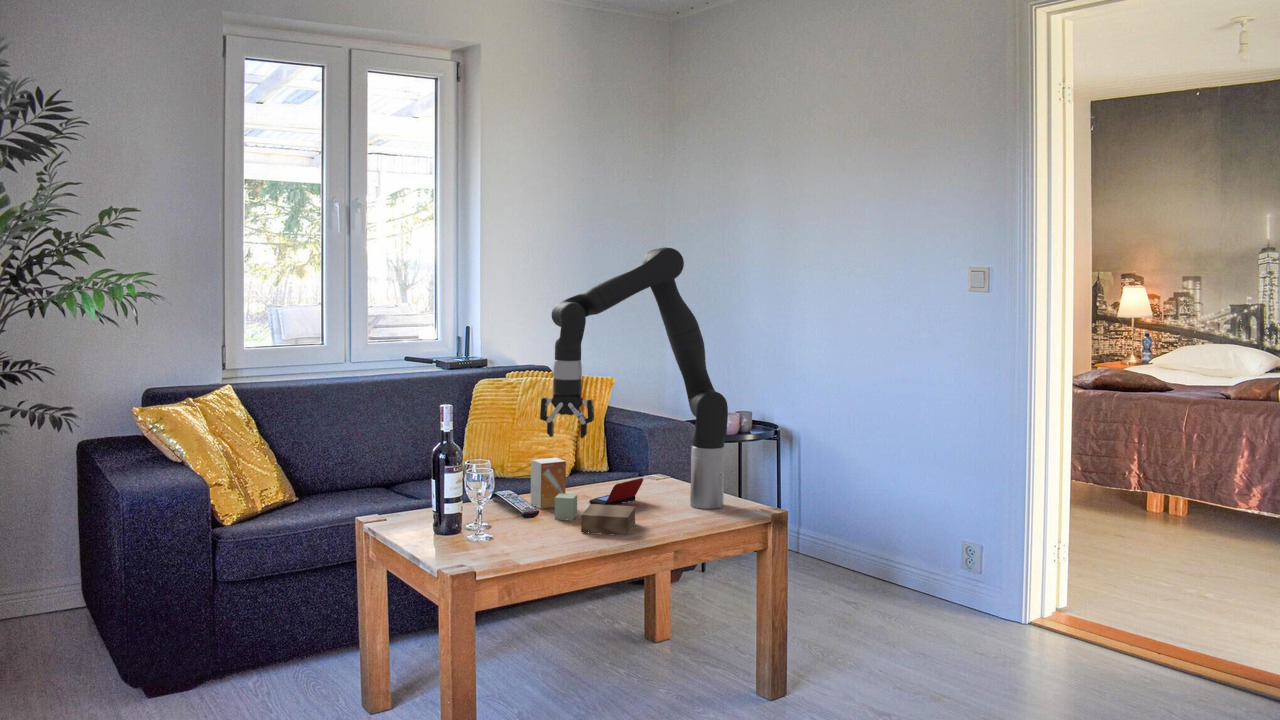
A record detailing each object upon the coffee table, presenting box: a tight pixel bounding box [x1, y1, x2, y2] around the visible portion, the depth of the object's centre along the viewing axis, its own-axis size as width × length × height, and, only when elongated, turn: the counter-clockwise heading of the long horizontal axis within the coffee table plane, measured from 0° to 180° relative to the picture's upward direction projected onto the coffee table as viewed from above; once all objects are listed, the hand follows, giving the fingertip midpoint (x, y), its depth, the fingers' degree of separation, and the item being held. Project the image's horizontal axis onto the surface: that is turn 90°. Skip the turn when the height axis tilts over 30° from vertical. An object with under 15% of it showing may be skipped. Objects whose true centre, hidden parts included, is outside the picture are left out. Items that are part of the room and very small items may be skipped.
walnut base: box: [580, 503, 636, 536], centre depth 259 cm, size 12×12×5 cm
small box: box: [530, 456, 567, 510], centre depth 281 cm, size 8×6×13 cm
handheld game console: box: [589, 477, 644, 505], centre depth 287 cm, size 12×11×7 cm
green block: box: [554, 493, 578, 521], centre depth 269 cm, size 5×5×6 cm
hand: (566, 437), depth 267 cm, fingers open, 8 cm apart
